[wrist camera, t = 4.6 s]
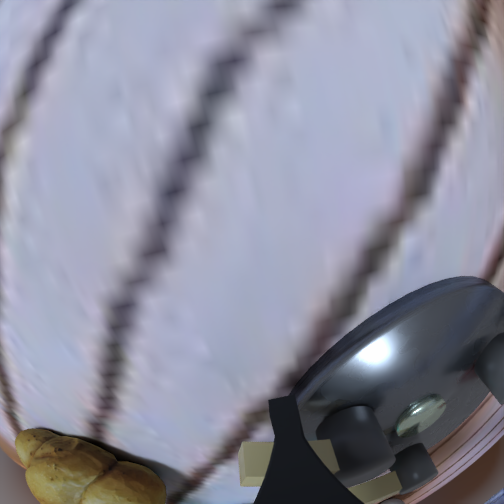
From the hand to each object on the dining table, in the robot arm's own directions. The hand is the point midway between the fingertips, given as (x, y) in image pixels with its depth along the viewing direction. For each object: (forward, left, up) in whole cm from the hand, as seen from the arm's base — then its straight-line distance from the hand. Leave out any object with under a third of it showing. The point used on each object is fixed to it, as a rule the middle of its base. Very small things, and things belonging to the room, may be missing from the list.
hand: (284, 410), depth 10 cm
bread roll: (+16, +8, -3) cm, 18 cm away
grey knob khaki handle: (-6, +13, -1) cm, 14 cm away
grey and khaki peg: (-1, +3, -1) cm, 3 cm away
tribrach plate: (-8, +7, -2) cm, 11 cm away
